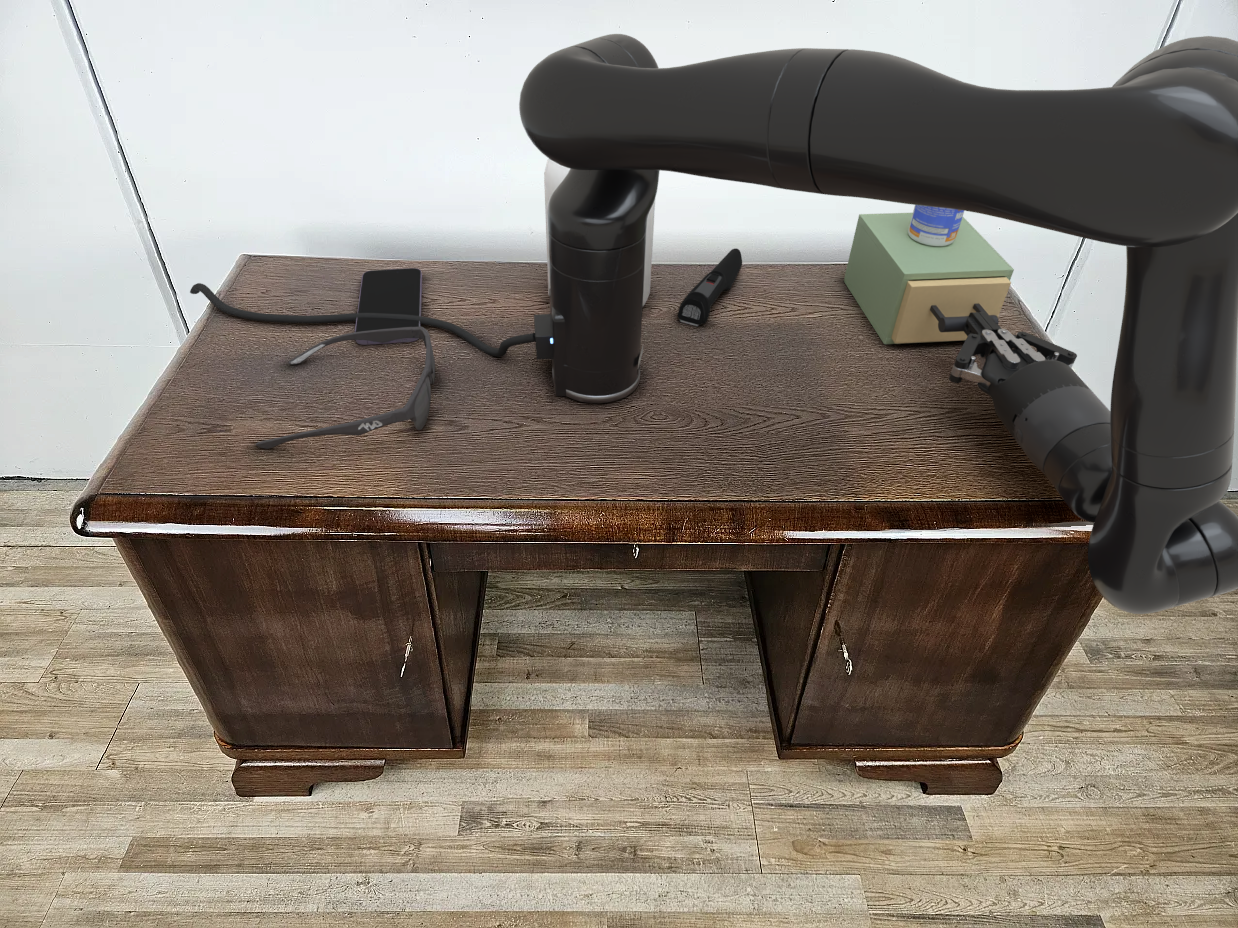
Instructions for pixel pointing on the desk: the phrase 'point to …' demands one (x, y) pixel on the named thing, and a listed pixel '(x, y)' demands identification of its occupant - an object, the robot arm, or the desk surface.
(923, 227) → the pill bottle
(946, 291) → the drawer
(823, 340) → the desk surface
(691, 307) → the electric trimmer
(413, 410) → the sunglasses
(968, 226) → the cabinet
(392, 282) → the smartphone
